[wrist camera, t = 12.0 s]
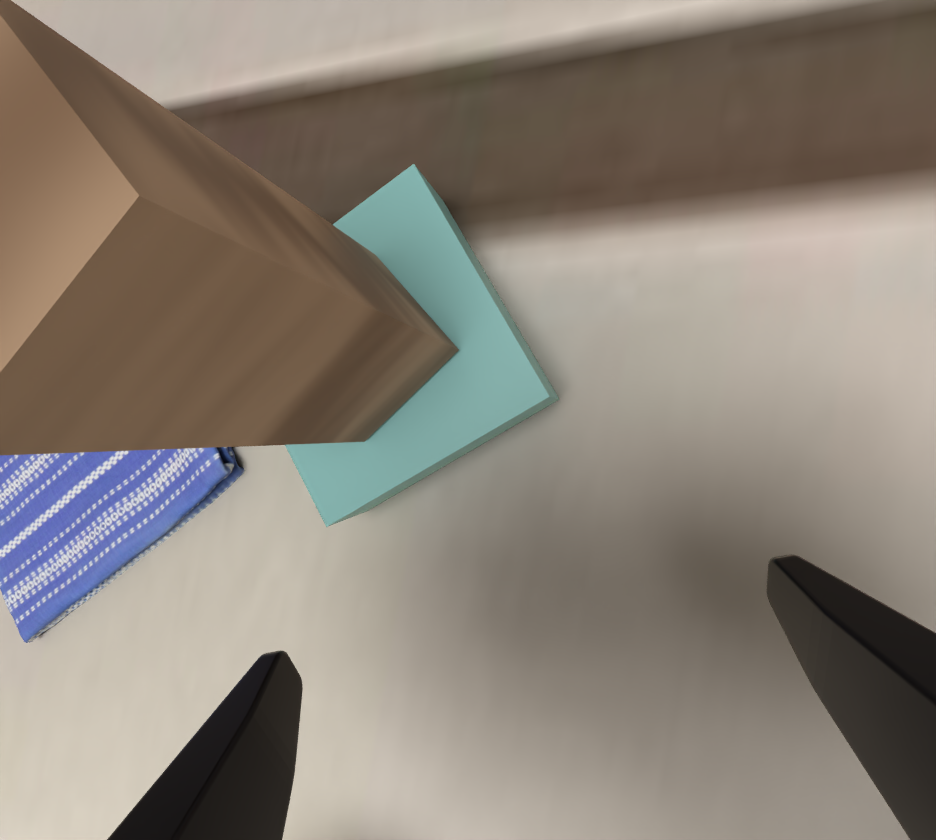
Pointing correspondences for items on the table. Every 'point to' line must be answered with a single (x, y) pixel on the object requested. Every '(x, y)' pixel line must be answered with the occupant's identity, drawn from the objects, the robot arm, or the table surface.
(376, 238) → the teal plinth
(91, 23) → the table surface
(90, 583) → the dish towel
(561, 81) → the table surface
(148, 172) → the walnut pillar
